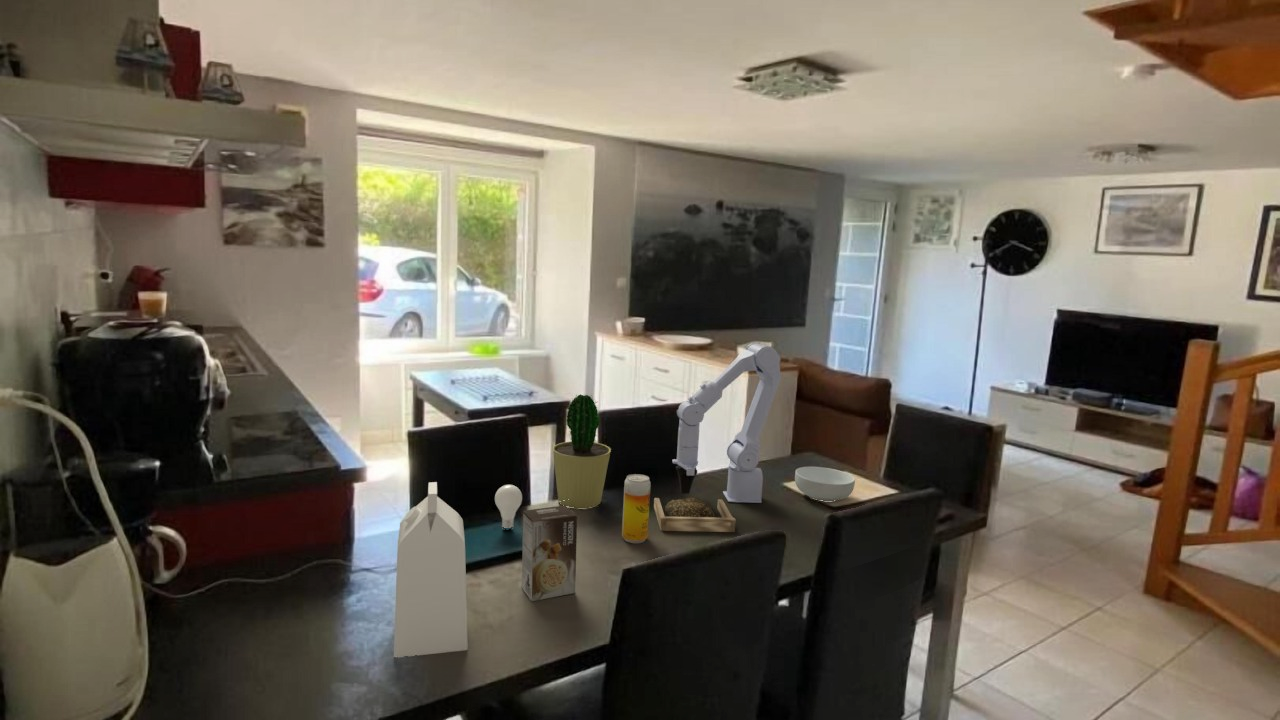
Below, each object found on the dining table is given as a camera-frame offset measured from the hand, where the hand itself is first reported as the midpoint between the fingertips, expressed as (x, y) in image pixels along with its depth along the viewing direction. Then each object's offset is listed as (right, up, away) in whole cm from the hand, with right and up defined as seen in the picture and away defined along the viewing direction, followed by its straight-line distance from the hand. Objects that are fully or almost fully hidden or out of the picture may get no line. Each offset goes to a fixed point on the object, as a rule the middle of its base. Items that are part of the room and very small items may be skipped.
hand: (684, 492), depth 191 cm
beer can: (-14, -6, -29) cm, 32 cm away
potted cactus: (-29, -2, -6) cm, 29 cm away
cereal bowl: (+40, -3, +8) cm, 41 cm away
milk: (-48, -10, -73) cm, 88 cm away
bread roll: (+1, -4, -11) cm, 12 cm away
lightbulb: (-44, -4, -27) cm, 52 cm away
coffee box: (-31, -9, -56) cm, 64 cm away
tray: (+1, -4, -13) cm, 14 cm away
